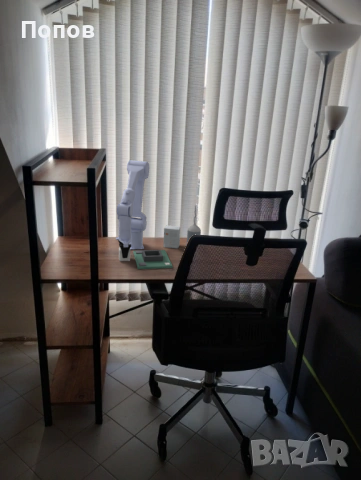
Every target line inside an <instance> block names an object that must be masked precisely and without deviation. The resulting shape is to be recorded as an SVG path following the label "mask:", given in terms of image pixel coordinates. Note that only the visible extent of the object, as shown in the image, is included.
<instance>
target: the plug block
mask: <svg viewBox="0 0 361 480" xmlns="http://www.w3.org/2000/svg"><path fill="white" fill-rule="evenodd" d="M131 250H132V249H130V250H129V253H128V257H127V258H123V257H122V252H121V248H120V246H118V260H119V262H130V261H131Z"/></svg>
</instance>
